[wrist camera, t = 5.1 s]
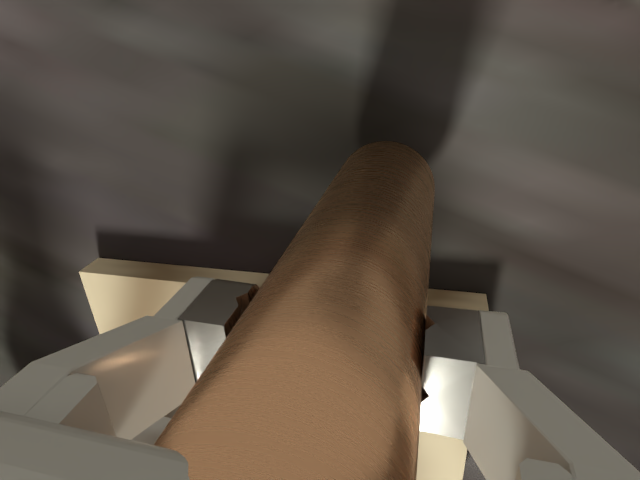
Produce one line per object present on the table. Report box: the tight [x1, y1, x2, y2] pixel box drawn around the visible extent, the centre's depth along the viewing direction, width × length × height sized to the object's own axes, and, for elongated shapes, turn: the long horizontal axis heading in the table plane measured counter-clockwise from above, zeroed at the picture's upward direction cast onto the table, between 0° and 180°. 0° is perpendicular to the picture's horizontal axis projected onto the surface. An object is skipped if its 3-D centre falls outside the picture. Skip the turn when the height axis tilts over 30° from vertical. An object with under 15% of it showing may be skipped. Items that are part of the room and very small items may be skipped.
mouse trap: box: [79, 258, 489, 480], centre depth 20 cm, size 20×12×9 cm, turn 93°
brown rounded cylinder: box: [154, 141, 435, 480], centre depth 10 cm, size 4×4×16 cm
